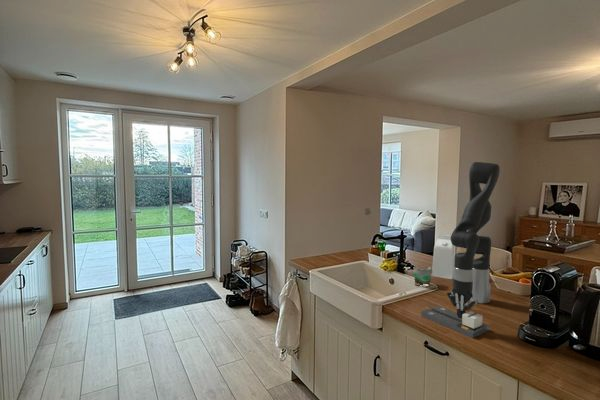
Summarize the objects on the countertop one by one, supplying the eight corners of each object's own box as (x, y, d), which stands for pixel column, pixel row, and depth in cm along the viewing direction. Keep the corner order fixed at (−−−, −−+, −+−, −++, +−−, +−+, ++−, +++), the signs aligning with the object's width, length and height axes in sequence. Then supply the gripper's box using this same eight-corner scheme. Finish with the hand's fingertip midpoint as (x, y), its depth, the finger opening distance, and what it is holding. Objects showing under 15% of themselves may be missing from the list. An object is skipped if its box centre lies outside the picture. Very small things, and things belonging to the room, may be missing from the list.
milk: (454, 274, 207) (456, 234, 205) (452, 279, 197) (453, 237, 195) (434, 271, 213) (436, 232, 211) (431, 275, 203) (432, 235, 201)
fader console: (421, 315, 146) (421, 311, 146) (437, 309, 153) (437, 305, 152) (472, 338, 126) (472, 333, 126) (489, 330, 132) (489, 325, 132)
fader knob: (461, 323, 133) (462, 314, 132) (470, 320, 136) (470, 311, 136) (473, 328, 129) (474, 318, 128) (482, 325, 132) (482, 315, 131)
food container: (421, 289, 180) (422, 271, 179) (413, 285, 185) (413, 268, 184) (436, 285, 186) (437, 268, 185) (427, 282, 191) (428, 266, 190)
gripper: (443, 275, 138) (441, 313, 140) (473, 284, 127) (471, 326, 129) (453, 272, 142) (451, 310, 144) (483, 281, 131) (481, 321, 133)
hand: (460, 317), depth 136 cm, fingers closed
